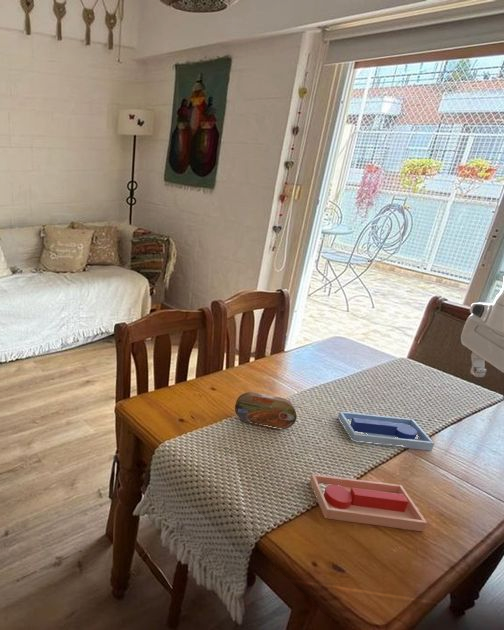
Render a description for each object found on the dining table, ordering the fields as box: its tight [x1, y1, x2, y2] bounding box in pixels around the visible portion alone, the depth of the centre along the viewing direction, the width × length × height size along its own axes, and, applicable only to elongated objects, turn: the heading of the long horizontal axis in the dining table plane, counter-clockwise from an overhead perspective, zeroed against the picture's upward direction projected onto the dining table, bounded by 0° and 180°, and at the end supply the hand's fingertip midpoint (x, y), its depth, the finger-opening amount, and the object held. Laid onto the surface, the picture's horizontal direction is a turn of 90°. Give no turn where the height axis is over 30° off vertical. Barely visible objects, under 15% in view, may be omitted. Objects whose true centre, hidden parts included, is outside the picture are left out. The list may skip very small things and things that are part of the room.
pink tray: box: [309, 473, 428, 532], centre depth 91 cm, size 18×10×2 cm, turn 80°
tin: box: [234, 391, 298, 430], centre depth 116 cm, size 15×3×8 cm, turn 68°
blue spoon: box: [350, 418, 417, 440], centre depth 113 cm, size 15×5×3 cm, turn 80°
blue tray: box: [337, 411, 435, 452], centre depth 114 cm, size 18×10×2 cm, turn 80°
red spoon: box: [324, 485, 408, 512], centre depth 91 cm, size 15×5×3 cm, turn 80°
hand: (492, 387), depth 84 cm, fingers open, 8 cm apart
